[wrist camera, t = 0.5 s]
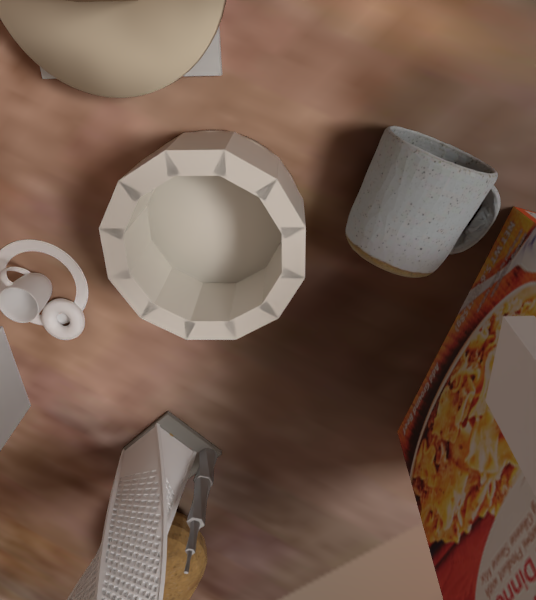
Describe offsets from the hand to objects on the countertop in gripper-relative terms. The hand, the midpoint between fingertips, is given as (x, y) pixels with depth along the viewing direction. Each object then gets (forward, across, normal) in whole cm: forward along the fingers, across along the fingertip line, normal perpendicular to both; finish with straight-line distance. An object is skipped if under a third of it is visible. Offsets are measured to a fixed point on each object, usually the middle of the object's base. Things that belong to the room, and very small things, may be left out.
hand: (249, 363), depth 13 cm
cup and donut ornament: (+26, -22, -13) cm, 36 cm away
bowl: (+25, -4, -5) cm, 26 cm away
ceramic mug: (+26, +11, -3) cm, 28 cm away
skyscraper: (+25, -12, -29) cm, 40 cm away
